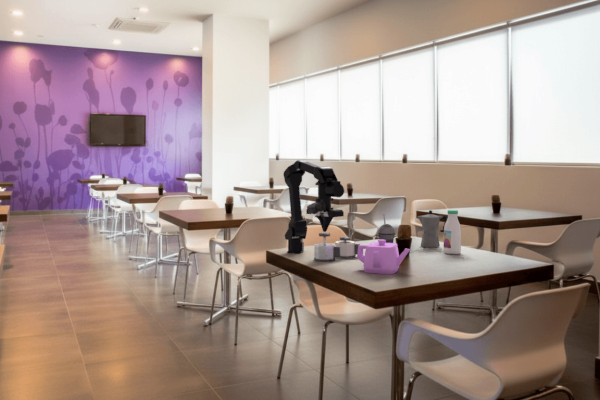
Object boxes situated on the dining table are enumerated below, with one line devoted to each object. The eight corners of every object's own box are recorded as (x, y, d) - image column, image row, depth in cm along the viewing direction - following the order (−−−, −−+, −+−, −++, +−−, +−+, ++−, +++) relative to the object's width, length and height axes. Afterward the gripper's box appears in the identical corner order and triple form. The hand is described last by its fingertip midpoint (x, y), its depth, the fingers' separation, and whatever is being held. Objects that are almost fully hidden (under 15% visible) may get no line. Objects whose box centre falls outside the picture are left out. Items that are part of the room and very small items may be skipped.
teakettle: (387, 265, 238) (388, 235, 237) (412, 272, 223) (412, 241, 222) (352, 268, 231) (352, 238, 230) (374, 276, 216) (374, 244, 215)
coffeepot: (415, 247, 282) (415, 210, 281) (418, 244, 291) (418, 209, 290) (447, 248, 277) (447, 211, 275) (449, 245, 286) (449, 209, 284)
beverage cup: (394, 261, 245) (394, 215, 244) (377, 260, 247) (377, 214, 245) (395, 258, 253) (395, 213, 251) (378, 257, 254) (378, 213, 252)
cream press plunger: (338, 251, 256) (338, 238, 256) (340, 249, 261) (340, 236, 260) (349, 252, 255) (349, 238, 254) (351, 250, 259) (351, 237, 259)
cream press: (332, 257, 255) (332, 243, 254) (337, 254, 264) (337, 240, 263) (358, 258, 252) (358, 244, 251) (361, 255, 261) (362, 241, 260)
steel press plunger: (317, 248, 248) (317, 234, 248) (320, 246, 253) (320, 232, 253) (328, 248, 247) (328, 234, 246) (331, 246, 252) (331, 232, 251)
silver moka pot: (311, 260, 247) (311, 246, 247) (317, 257, 256) (317, 242, 256) (337, 262, 244) (337, 247, 244) (342, 258, 253) (342, 243, 252)
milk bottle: (459, 251, 268) (459, 209, 267) (462, 254, 261) (462, 211, 259) (442, 251, 269) (442, 209, 267) (444, 254, 261) (445, 210, 260)
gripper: (296, 195, 251) (296, 231, 252) (324, 198, 236) (324, 235, 237) (316, 194, 257) (316, 228, 259) (344, 196, 243) (344, 233, 244)
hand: (324, 231), depth 250 cm, fingers closed
